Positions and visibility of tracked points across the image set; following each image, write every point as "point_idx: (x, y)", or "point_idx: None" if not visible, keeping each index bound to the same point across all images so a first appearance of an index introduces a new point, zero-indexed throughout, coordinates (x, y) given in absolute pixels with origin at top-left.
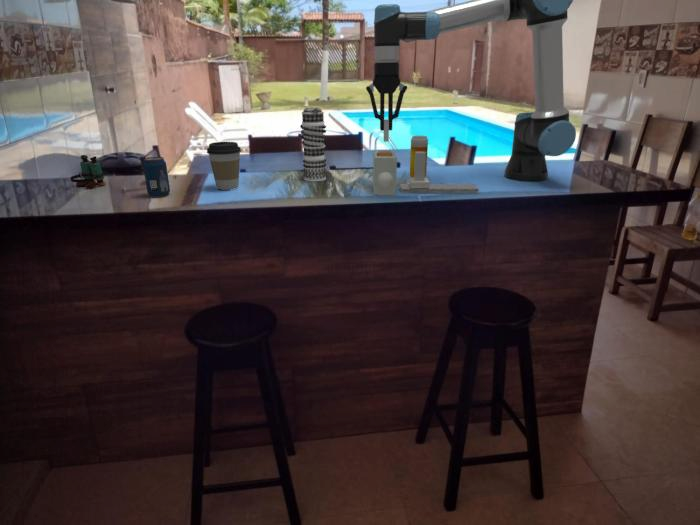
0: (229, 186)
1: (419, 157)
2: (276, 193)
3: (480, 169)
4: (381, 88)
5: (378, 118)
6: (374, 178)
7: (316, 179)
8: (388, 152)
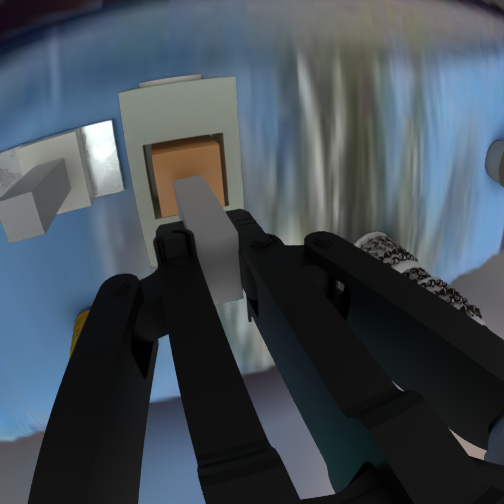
0: (499, 142)
1: (24, 188)
2: (440, 108)
3: (2, 405)
4: (483, 498)
5: (295, 246)
6: (214, 77)
7: (369, 238)
8: (167, 153)
